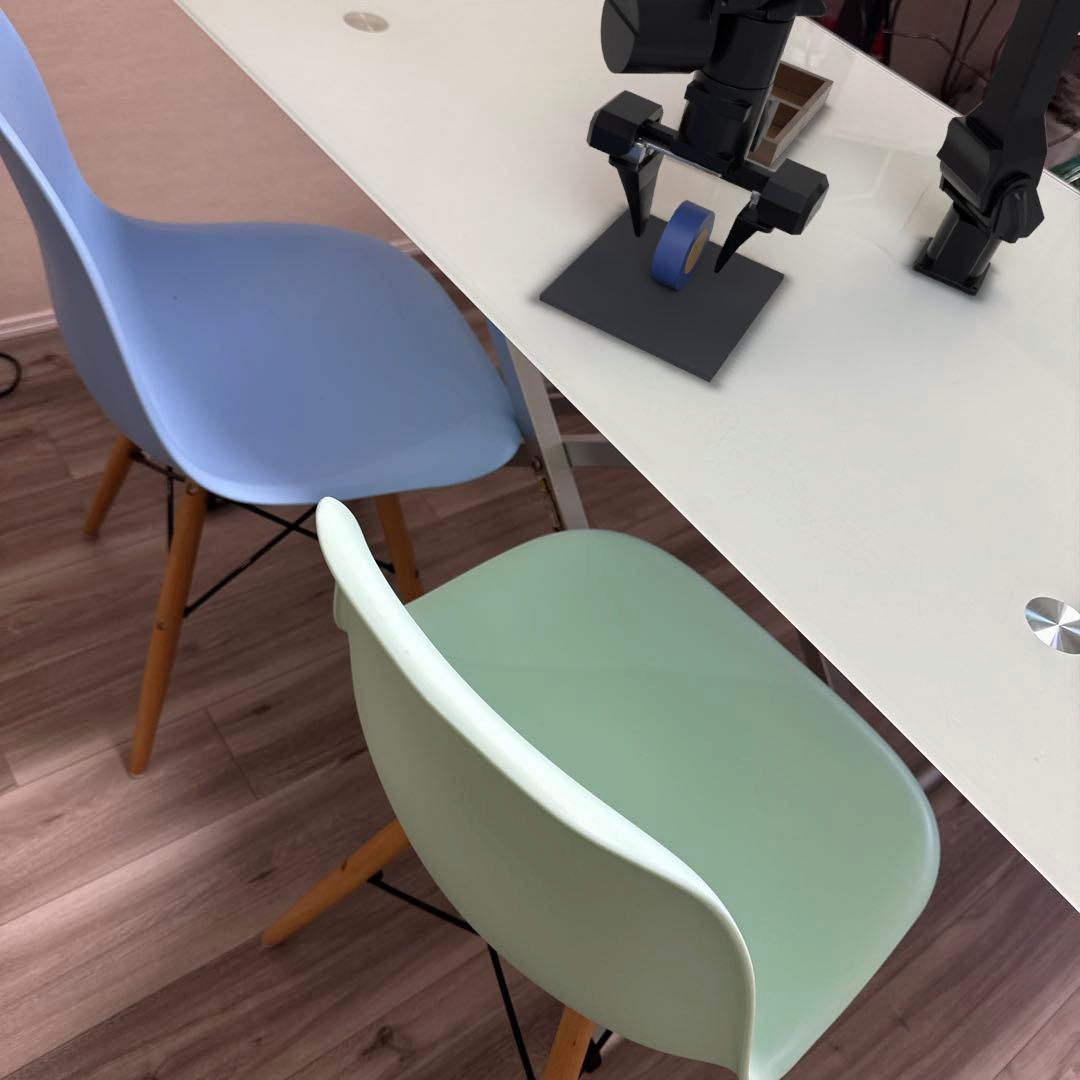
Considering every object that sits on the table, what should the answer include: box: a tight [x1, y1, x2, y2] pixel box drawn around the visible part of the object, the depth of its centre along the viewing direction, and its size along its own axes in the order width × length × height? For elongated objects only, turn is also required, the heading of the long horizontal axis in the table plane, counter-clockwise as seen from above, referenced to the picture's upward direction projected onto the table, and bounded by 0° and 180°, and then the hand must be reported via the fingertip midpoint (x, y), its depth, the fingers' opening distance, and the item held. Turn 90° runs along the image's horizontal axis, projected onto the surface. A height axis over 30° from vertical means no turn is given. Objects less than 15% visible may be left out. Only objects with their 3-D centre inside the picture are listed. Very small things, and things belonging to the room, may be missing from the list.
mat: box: [539, 207, 786, 383], centre depth 86 cm, size 18×16×1 cm
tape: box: [650, 199, 716, 290], centre depth 84 cm, size 7×3×7 cm, turn 151°
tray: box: [746, 59, 835, 168], centre depth 108 cm, size 19×10×3 cm, turn 151°
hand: (678, 252), depth 83 cm, fingers open, 7 cm apart
